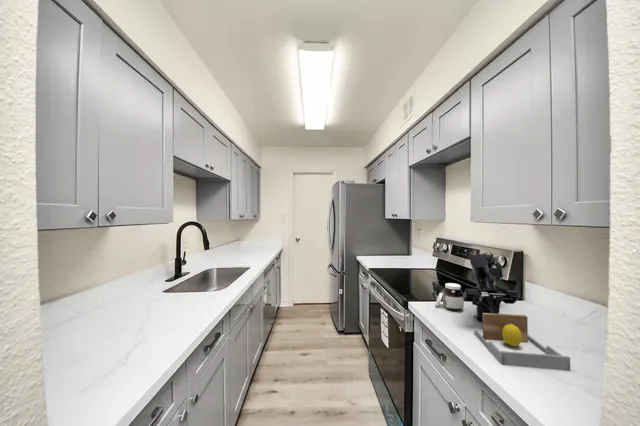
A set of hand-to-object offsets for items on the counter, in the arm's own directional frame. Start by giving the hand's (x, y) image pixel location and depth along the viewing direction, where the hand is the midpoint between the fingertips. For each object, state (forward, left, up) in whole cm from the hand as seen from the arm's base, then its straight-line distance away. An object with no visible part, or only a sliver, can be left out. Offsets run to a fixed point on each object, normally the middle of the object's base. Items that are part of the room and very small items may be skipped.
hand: (497, 317), depth 99 cm
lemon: (+8, +1, -7) cm, 11 cm away
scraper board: (+3, +1, -7) cm, 8 cm away
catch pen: (+10, +1, -7) cm, 13 cm away
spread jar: (-29, -9, -7) cm, 32 cm away
